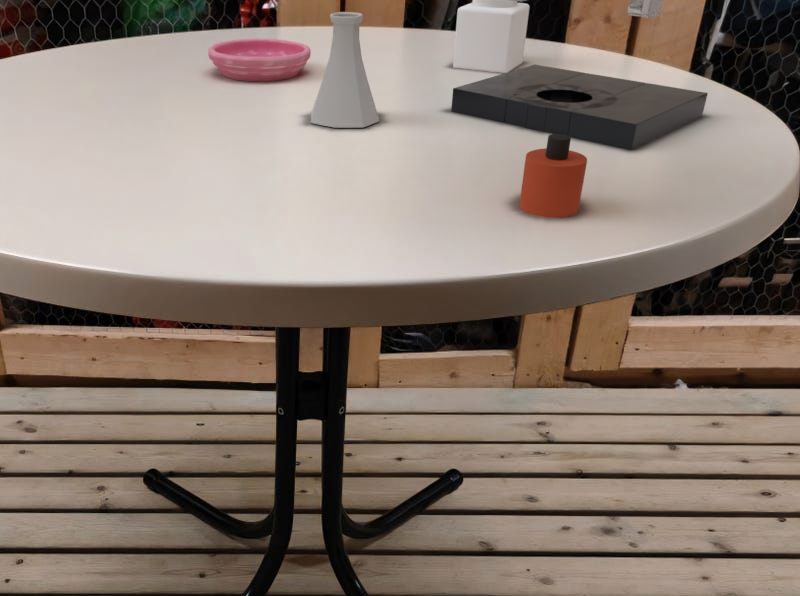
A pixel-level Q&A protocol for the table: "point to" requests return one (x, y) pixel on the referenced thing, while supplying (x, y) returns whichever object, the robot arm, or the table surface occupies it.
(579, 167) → the stopper
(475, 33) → the medicine bottle
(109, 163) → the table surface
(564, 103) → the drain plate
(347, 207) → the table surface
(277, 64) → the pink shallow round dish
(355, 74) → the flask
